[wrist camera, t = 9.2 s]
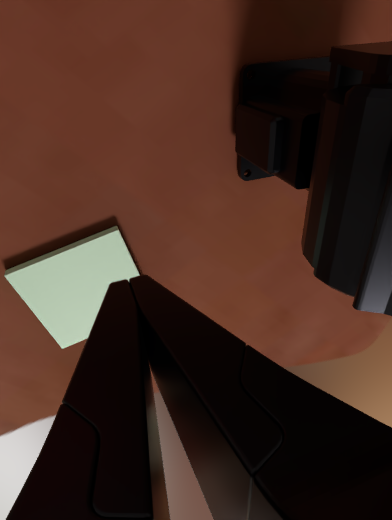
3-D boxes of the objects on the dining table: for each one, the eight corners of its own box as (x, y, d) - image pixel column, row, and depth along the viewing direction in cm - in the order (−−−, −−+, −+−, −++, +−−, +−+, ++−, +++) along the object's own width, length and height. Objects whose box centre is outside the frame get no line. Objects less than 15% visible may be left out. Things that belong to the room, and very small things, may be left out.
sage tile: (116, 225, 21) (118, 229, 21) (153, 303, 25) (155, 308, 25) (5, 270, 20) (4, 275, 20) (62, 342, 24) (62, 348, 24)
